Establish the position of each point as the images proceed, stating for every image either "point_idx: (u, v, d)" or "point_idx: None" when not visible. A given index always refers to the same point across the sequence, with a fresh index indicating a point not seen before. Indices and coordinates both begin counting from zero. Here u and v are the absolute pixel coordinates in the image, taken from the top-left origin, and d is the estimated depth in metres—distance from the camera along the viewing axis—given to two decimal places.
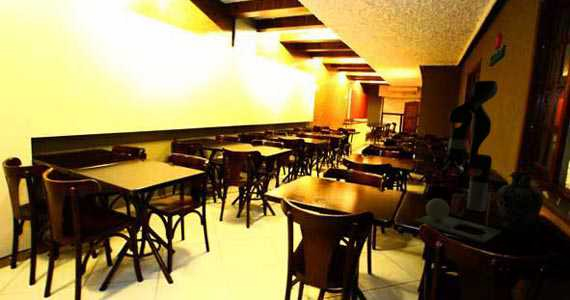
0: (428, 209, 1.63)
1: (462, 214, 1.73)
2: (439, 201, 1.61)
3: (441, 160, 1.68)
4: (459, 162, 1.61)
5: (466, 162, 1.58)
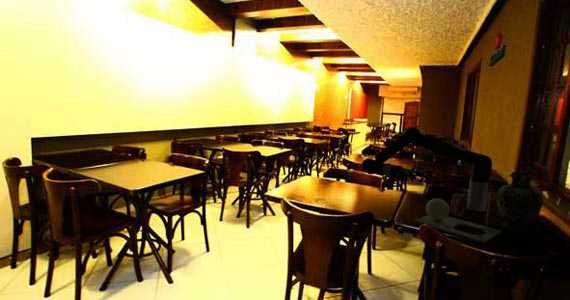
0: (428, 209, 1.63)
1: (462, 214, 1.73)
2: (439, 201, 1.61)
3: (410, 174, 1.82)
4: None
5: None
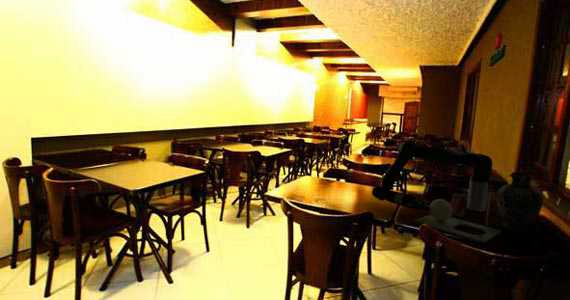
0: (431, 209, 1.62)
1: (462, 214, 1.73)
2: (445, 204, 1.59)
3: None
4: None
5: (409, 206, 1.70)
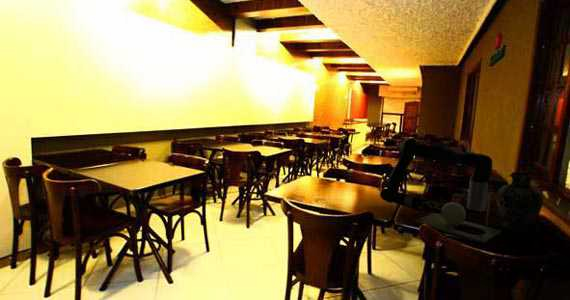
0: (448, 210, 1.55)
1: None
2: (462, 218, 1.53)
3: None
4: None
5: (420, 209, 1.65)
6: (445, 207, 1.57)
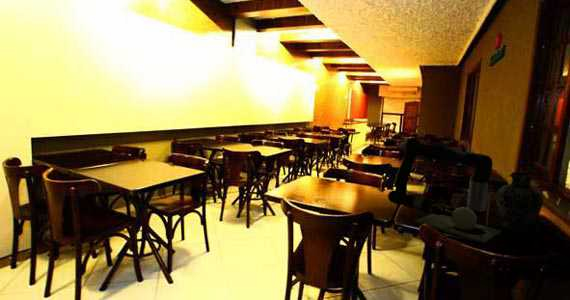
0: (464, 219, 1.49)
1: None
2: None
3: None
4: None
5: None
6: (464, 213, 1.50)
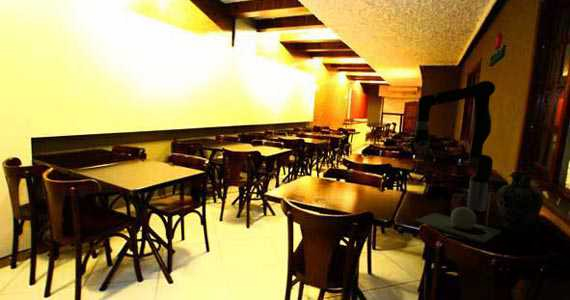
0: (463, 218, 1.50)
1: None
2: (466, 229, 1.52)
3: None
4: None
5: None
6: (463, 212, 1.51)
